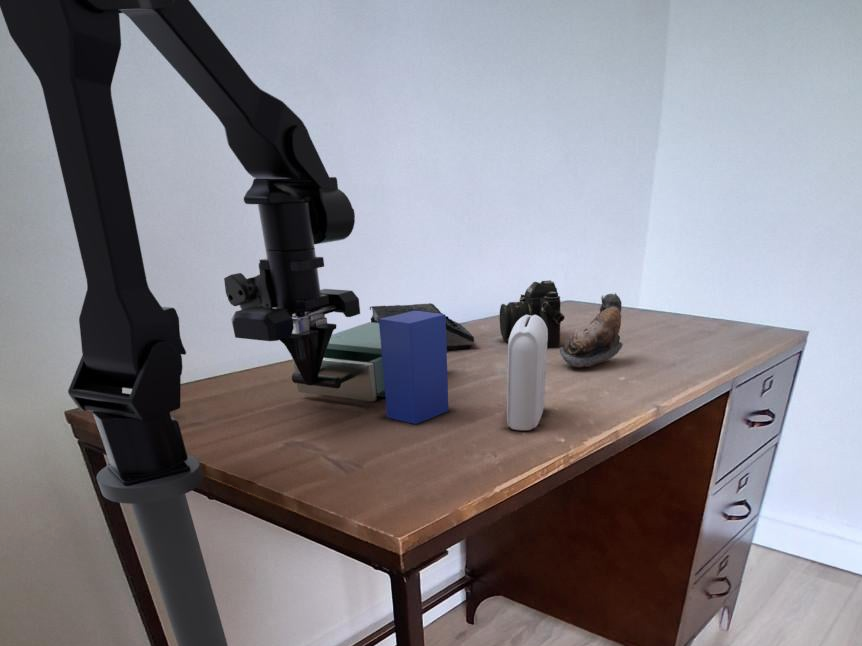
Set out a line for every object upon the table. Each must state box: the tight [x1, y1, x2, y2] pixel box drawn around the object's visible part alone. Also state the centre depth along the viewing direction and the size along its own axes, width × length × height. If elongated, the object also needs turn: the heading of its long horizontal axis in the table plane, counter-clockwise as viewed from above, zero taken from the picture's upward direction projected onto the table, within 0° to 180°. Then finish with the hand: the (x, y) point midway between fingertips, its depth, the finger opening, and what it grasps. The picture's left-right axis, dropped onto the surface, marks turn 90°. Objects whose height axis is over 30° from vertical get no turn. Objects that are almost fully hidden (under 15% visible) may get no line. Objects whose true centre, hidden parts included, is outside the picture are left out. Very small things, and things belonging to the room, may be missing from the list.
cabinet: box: [327, 321, 385, 398], centre depth 102 cm, size 16×14×7 cm
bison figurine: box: [559, 292, 624, 369], centre depth 108 cm, size 12×7×10 cm, turn 135°
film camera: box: [499, 279, 565, 348], centre depth 124 cm, size 18×12×10 cm
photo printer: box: [506, 315, 548, 431], centre depth 84 cm, size 10×4×12 cm, turn 169°
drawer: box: [291, 349, 385, 403], centre depth 96 cm, size 19×12×5 cm, turn 156°
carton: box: [379, 311, 449, 425], centre depth 86 cm, size 7×5×12 cm
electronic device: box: [369, 302, 475, 351], centre depth 122 cm, size 12×17×6 cm
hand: (310, 384), depth 88 cm, fingers closed
